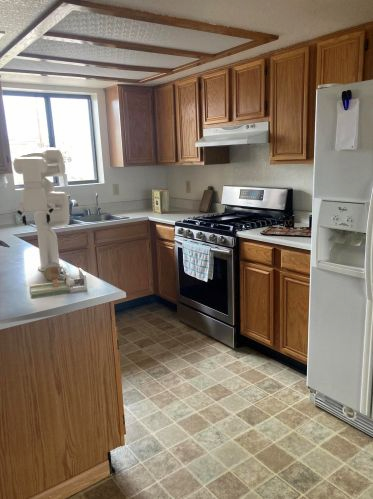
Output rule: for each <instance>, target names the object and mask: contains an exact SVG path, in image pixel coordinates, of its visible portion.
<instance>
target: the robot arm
mask: <svg viewBox="0 0 373 499" xmlns="http://www.w3.org/2000/svg"><path fill="white" fill-rule="evenodd" d="M13 169H14V171H15V173H16V174H18V175H22V179H23V180H22V181H23V189H22V191H21V200H22V202H21V203H20V202H19V203H18V204H16V205H14V210H15V211H16V212H17V214H18V215H20V216H21V218H22V219H21V220H22V224H24V226H26V225H27V219H26V218H27V217H26V214H27V213H29V212H31V213H33V212H34V214H33V220H34V223H35V224H34V225H35V229H36V233H37V240H38V241H37V242H38V250H39V251H38V252H39V259H40V260H39V262H40V265H39V266H37V270H38V271H39V272H44V270H45V267H46V265H47V264H48V263H50V262H56V263H58V264H59V265H60V266H61V269H63V268H64V267H63V264H62V263H60V256H59V247H58V236H57V235H58V234H57V233H56V232H55V231H54V229H52V228H66V227H67V226H68V225H70V201H69V196H68V194H67V193H66V192H64V191H55V186H54V184H53V183H52V182H51V180H49V179H48V177H50V178H52V177H62V176H63V177H64V175H65V174H66V165H65V161H64V157H63V155H62V152H61V150H60V149H59V148H57V147H47V148H46V147H45V148H44V147H41V148H36V149H35V150H33V151H32V152H27V153H24V154H19V155H17V156H16V157H15V158H14V161H13ZM21 207H22V209H23V211H22V210H20V208H21Z"/></svg>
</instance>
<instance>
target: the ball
mask: <svg viewBox="0 0 373 499" xmlns="http://www.w3.org/2000/svg"><path fill="white" fill-rule="evenodd" d="M74 285H75V281H74V280H73V278H70V286H71V287H73V286H74ZM66 286H67V287H68V285H67V281H66Z"/></svg>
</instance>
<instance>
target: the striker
mask: <svg viewBox="0 0 373 499" xmlns="http://www.w3.org/2000/svg"><path fill="white" fill-rule="evenodd" d="M50 273H51V279H52V280H53V281H52V283H53V286H54V288H55V287H58V282H59V279H60V278H59V276H58V267H57V265H56V266H50Z"/></svg>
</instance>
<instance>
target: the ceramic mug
mask: <svg viewBox="0 0 373 499" xmlns="http://www.w3.org/2000/svg"><path fill="white" fill-rule="evenodd" d="M59 264H60V263H59ZM59 264H58V263H56V262H50V263H48V264H47V265H46V267H45V270H44V271H43V276H44V278H45V280H47V281H51V282H53V280H52V279H51V273H50V266H56V265H57V267H58V276H59V279H61V280H64V276H63V270H62V268H61V266H60V265H59ZM66 279H67V276H66Z"/></svg>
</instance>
